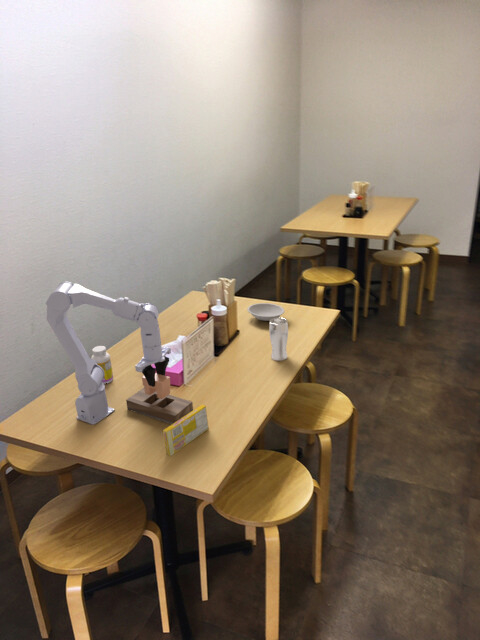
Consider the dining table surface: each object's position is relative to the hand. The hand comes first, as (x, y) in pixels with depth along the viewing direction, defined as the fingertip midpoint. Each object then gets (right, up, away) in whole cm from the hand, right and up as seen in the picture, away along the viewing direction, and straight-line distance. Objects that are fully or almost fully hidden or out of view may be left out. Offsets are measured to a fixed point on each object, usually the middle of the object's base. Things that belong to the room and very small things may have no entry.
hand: (156, 382), depth 170 cm
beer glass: (+41, +5, +34) cm, 54 cm away
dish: (+38, +19, +68) cm, 80 cm away
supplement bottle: (-23, -2, +24) cm, 33 cm away
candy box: (+11, -16, -12) cm, 23 cm away
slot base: (+1, -10, +4) cm, 10 cm away
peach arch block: (0, -4, +2) cm, 4 cm away
